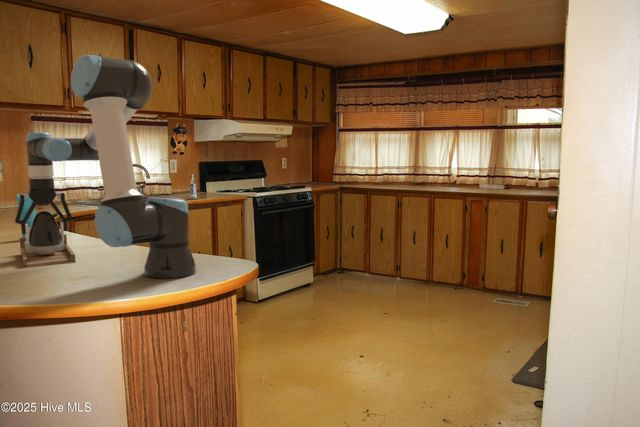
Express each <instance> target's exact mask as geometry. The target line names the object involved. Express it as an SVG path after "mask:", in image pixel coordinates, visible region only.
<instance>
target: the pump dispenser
mask: <svg viewBox="0 0 640 427" xmlns="http://www.w3.org/2000/svg"><path fill="white" fill-rule="evenodd" d="M56 217H59V215H58V214H57V213H56V212H54V213H52V212H49V211H48V210H41V211H40V210H39V211H38V212H37V213H35V217H34V219H33V222H32V225H31V228H30V234H29V245H30V247H31V249H32V251H33V252H34V253H35V254H38V255H51V254H54V253H56V252H57V251H58V250H59V249H60V246H61V243H62V238H61V229H60V226H59V224H58V222H57V220H56Z"/></svg>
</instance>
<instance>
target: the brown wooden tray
mask: <svg viewBox="0 0 640 427" xmlns="http://www.w3.org/2000/svg"><path fill="white" fill-rule="evenodd" d="M25 242H26V238H22V237H19V247H20V248H19V249H20V257H21V261H22V265H23V268H33V267H42V265H43V266H51V265H60V264H69V263H70V264H72V263H76V254H75V252H74V251H73V250H72V249H71V247H70V246H69V245H68V241H67V234H65V233H64V250H58V251H57V252H56V253H54V254H51V255H38V254H35V253H25ZM71 262H72V263H71ZM32 266H33V267H32Z"/></svg>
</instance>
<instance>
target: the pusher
mask: <svg viewBox="0 0 640 427" xmlns="http://www.w3.org/2000/svg"><path fill="white" fill-rule="evenodd" d="M59 250H64V241H62V243H61V246H60V249H59ZM25 253H34V252H33V251H32V249H31V247H30V245H29V244H27V243H26V242H25Z"/></svg>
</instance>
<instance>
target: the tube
mask: <svg viewBox="0 0 640 427" xmlns="http://www.w3.org/2000/svg"><path fill="white" fill-rule="evenodd" d="M20 194H21V193H18V194H15V195H16V200H17V206H18V207H19V204H20ZM32 202H33V201H32V200H31V199H30V198H29V197H28V198H27V200H26V201H24V206H23V210H22V214H21V217H20V220H22V219H23V218H24V216H25V214H26V213H27V211H28V209H29V208H30V206H31V204H32ZM35 215H36V207H35V208H34V210H33V212H32V213H31V215H30V217H29V218H28V220H27V222H26V223H25V224H28V232H29V234H30V228H31V225H32V222H33V219H34V217H35ZM20 229H21V231H22V228H21V227H20ZM21 236H22V237H21V238H26V234H22V233H21Z"/></svg>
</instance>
